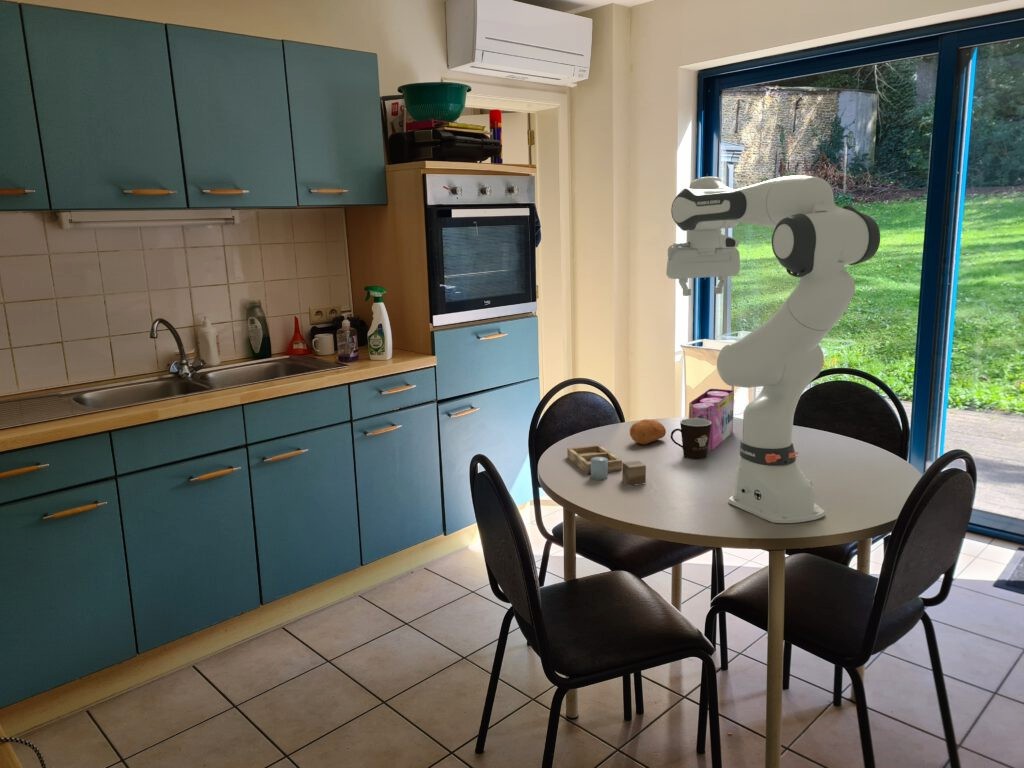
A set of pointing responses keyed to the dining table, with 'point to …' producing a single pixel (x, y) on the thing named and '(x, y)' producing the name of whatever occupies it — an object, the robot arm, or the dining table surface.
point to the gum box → (715, 413)
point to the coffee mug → (694, 437)
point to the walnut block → (633, 472)
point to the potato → (647, 431)
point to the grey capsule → (599, 468)
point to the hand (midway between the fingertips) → (702, 294)
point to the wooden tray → (584, 455)
